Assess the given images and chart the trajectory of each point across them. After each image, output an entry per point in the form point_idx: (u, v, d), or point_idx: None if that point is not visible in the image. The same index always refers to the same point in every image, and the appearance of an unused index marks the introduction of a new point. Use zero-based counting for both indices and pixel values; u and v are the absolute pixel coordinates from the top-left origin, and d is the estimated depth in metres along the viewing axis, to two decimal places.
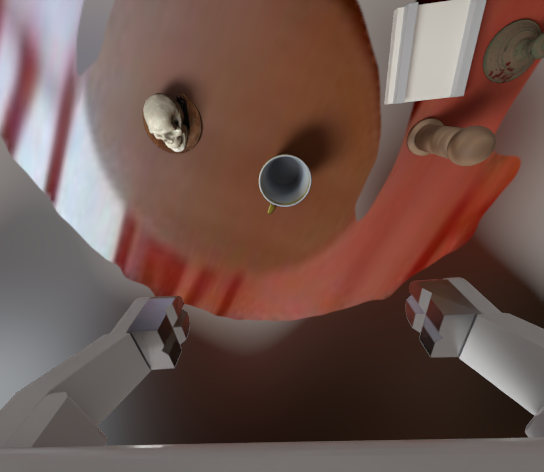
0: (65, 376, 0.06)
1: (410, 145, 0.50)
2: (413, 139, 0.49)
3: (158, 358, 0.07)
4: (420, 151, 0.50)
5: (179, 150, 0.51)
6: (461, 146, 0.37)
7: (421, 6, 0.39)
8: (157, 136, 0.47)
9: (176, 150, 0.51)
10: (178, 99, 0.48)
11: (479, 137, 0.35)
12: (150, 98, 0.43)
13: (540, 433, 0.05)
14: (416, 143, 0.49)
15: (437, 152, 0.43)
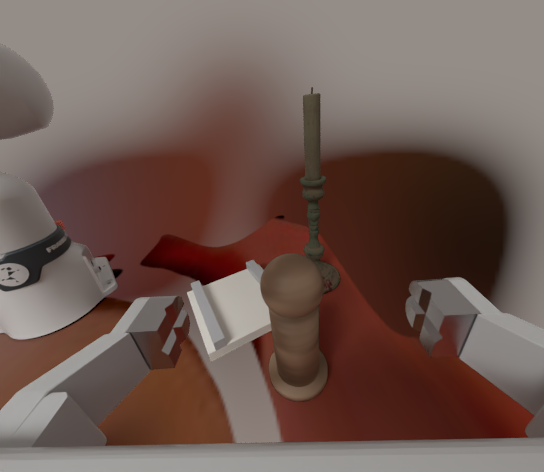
0: (65, 376, 0.06)
1: (280, 388, 0.27)
2: (279, 376, 0.28)
3: (158, 358, 0.07)
4: (305, 388, 0.26)
5: None
6: (264, 278, 0.21)
7: (208, 285, 0.43)
8: None
9: None
10: None
11: (274, 259, 0.23)
12: None
13: (540, 433, 0.05)
14: (283, 377, 0.27)
15: (285, 339, 0.23)
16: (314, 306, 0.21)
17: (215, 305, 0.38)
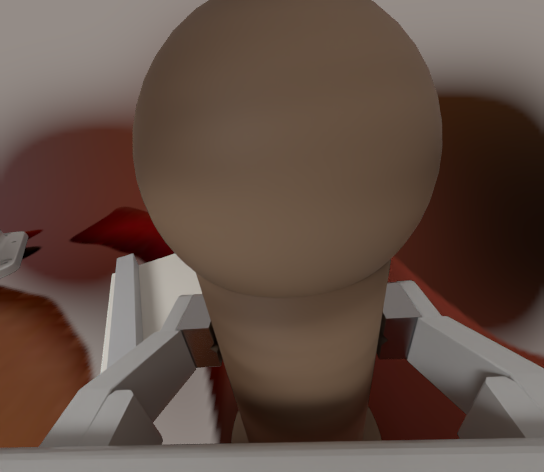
0: (125, 374, 0.06)
1: None
2: None
3: (206, 356, 0.07)
4: None
5: None
6: None
7: (151, 262, 0.26)
8: None
9: None
10: None
11: None
12: None
13: (467, 434, 0.05)
14: None
15: (259, 389, 0.06)
16: (406, 230, 0.04)
17: (151, 294, 0.21)
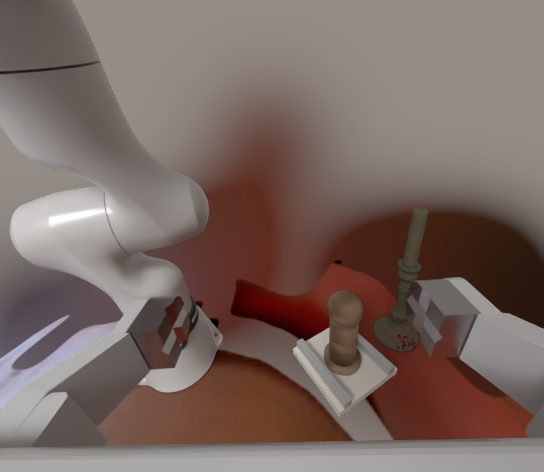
0: (65, 376, 0.06)
1: (334, 368, 0.44)
2: (331, 361, 0.46)
3: (158, 358, 0.07)
4: (348, 367, 0.44)
5: None
6: (332, 305, 0.39)
7: (308, 341, 0.51)
8: None
9: None
10: None
11: (335, 293, 0.41)
12: None
13: (540, 433, 0.05)
14: (335, 361, 0.45)
15: (341, 338, 0.41)
16: (359, 320, 0.39)
17: (324, 363, 0.47)
